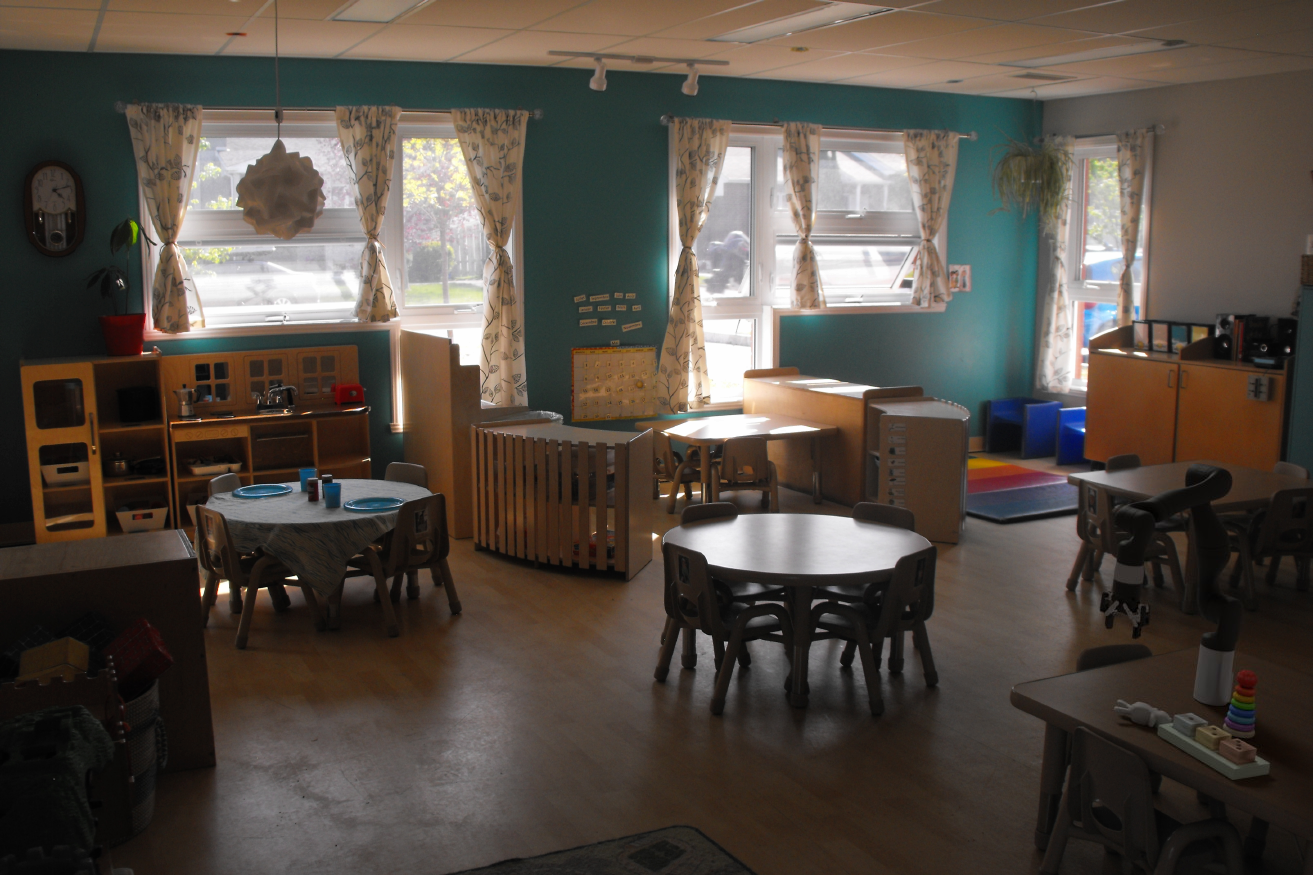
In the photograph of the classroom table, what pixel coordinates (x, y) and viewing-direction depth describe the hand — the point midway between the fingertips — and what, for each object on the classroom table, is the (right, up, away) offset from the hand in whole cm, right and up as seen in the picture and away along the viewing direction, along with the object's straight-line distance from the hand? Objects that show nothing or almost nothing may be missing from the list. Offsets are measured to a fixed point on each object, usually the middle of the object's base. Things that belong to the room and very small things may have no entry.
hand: (1122, 633), depth 300 cm
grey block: (+17, -27, -4) cm, 32 cm away
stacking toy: (+34, -29, +2) cm, 44 cm away
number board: (+19, -31, -11) cm, 38 cm away
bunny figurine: (+9, -27, +7) cm, 29 cm away
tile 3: (+22, -30, -19) cm, 41 cm away
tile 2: (+19, -28, -12) cm, 36 cm away
